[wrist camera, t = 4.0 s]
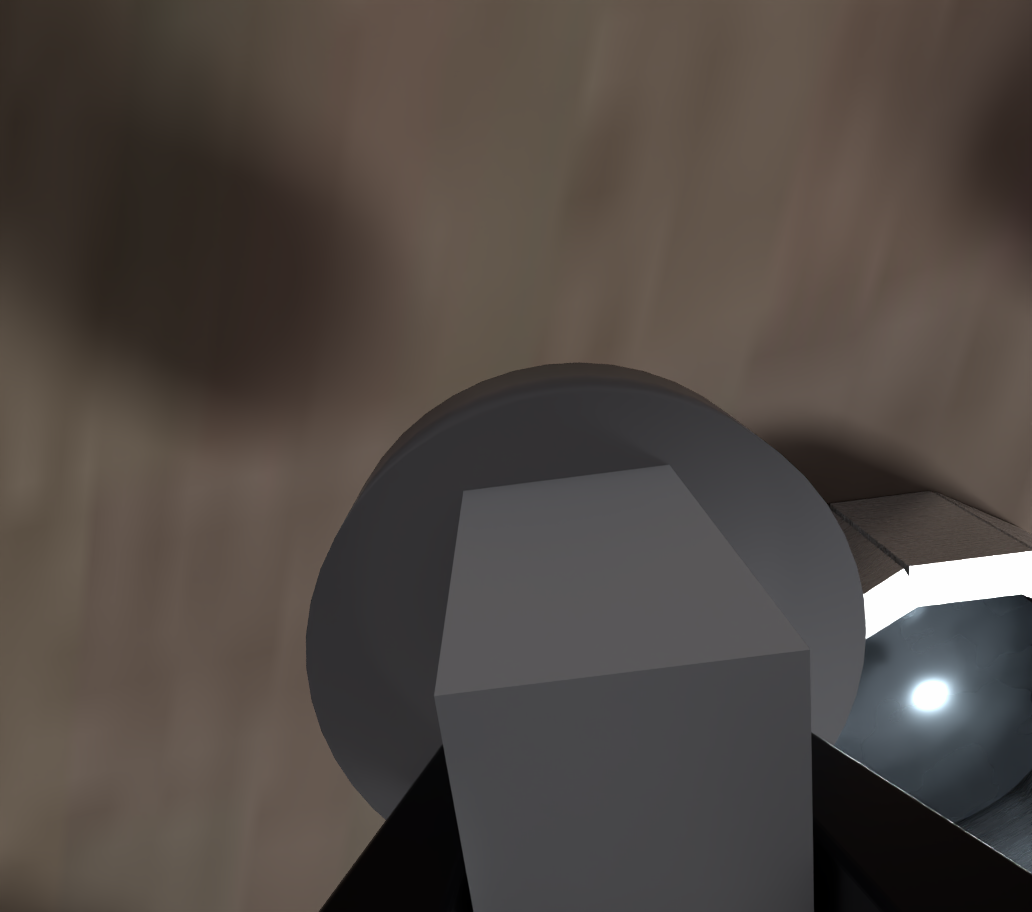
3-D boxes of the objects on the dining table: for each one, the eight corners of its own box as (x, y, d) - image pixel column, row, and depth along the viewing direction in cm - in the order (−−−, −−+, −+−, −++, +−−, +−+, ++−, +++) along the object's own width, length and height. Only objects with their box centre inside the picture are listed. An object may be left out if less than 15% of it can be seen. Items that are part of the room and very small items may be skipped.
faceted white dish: (705, 837, 23) (746, 957, 19) (684, 521, 20) (728, 589, 16) (1046, 796, 23) (1158, 909, 19) (1077, 472, 20) (1217, 528, 16)
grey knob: (384, 809, 12) (280, 1320, 6) (295, 396, 10) (29, 600, 4) (805, 757, 12) (1085, 1229, 6) (798, 332, 10) (1197, 452, 4)
